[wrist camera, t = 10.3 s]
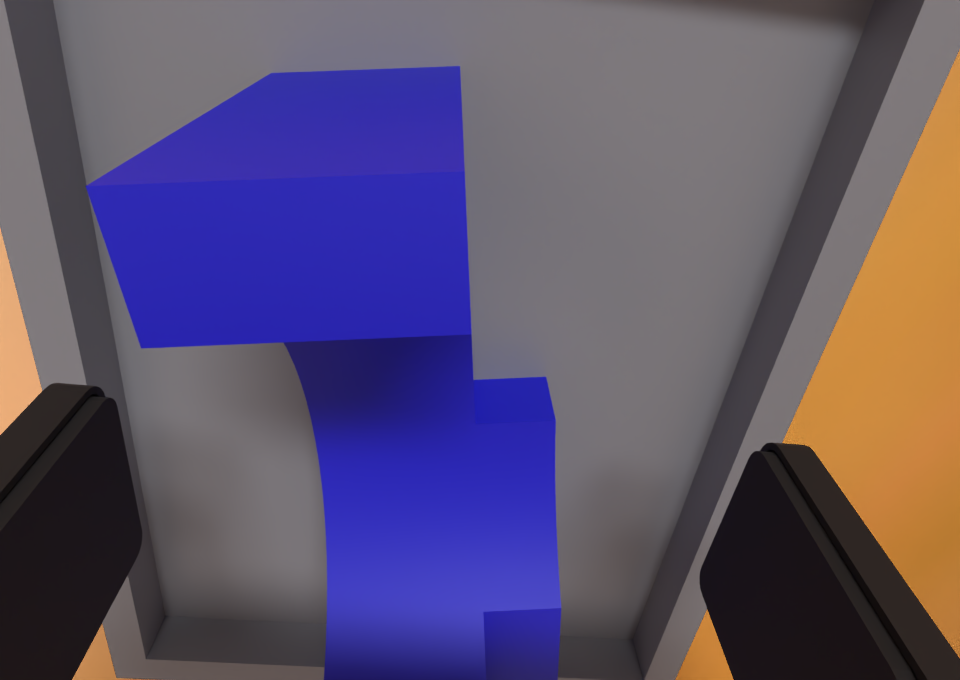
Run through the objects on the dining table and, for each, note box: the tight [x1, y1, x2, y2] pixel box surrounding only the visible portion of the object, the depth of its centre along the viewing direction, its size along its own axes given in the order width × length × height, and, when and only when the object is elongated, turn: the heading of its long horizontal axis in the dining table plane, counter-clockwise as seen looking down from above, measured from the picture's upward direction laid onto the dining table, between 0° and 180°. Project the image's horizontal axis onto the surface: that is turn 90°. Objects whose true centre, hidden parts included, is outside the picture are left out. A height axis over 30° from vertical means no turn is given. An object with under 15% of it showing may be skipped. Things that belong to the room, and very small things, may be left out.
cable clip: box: [86, 66, 561, 680], centre depth 11 cm, size 12×4×6 cm, turn 2°
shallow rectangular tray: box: [0, 0, 960, 680], centre depth 13 cm, size 14×18×2 cm
